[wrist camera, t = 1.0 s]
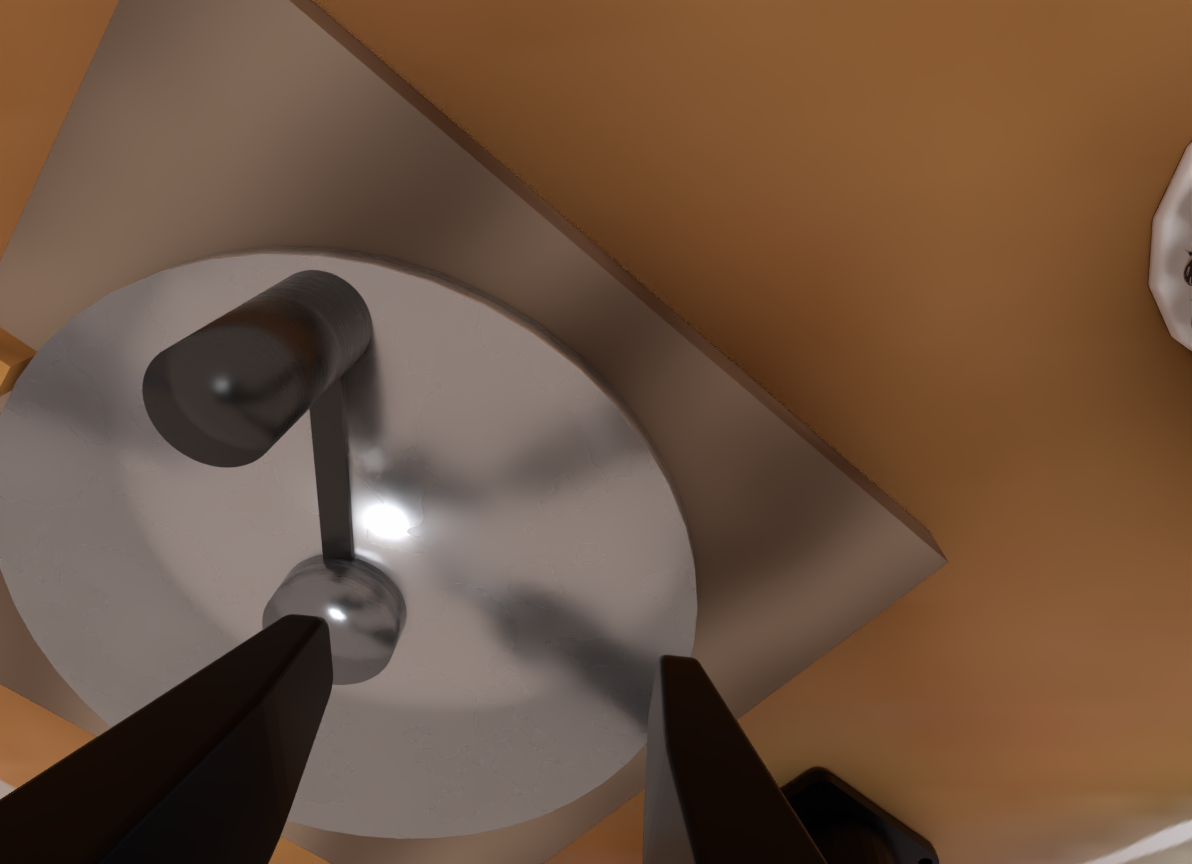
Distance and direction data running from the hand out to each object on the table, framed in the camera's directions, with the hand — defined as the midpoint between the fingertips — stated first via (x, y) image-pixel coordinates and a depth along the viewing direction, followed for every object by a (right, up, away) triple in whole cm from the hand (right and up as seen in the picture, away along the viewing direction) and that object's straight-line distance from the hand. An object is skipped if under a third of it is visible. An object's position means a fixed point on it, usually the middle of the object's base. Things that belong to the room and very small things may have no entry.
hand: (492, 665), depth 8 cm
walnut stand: (-6, -1, +16) cm, 17 cm away
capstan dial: (-6, -2, +14) cm, 15 cm away
